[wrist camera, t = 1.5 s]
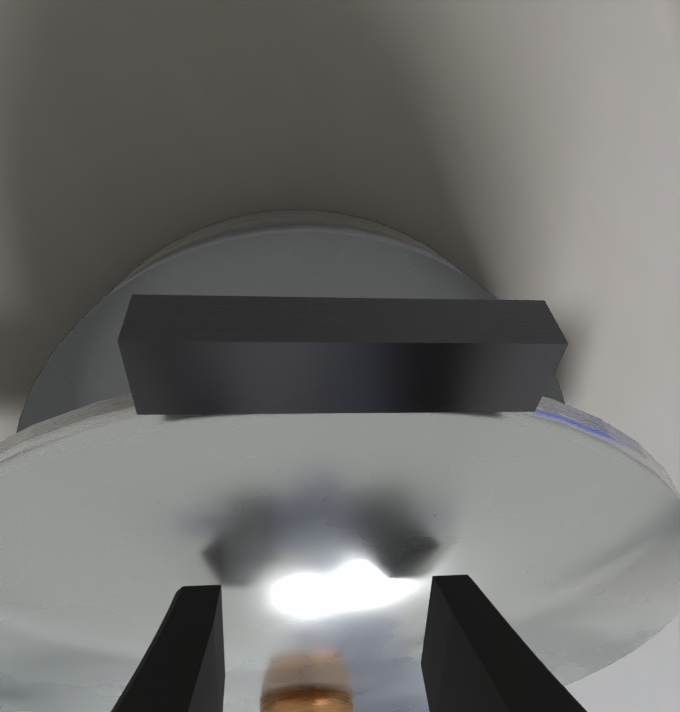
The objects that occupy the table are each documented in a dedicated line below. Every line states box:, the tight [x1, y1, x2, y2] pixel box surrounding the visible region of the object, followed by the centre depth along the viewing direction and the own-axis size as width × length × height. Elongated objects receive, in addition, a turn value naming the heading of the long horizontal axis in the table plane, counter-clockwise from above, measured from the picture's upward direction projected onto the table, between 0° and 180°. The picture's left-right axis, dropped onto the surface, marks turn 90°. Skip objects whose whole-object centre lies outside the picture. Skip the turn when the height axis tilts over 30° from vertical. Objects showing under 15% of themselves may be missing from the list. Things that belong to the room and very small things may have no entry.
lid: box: [0, 294, 680, 712], centre depth 12 cm, size 18×17×2 cm
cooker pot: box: [17, 210, 565, 433], centre depth 18 cm, size 18×20×4 cm
